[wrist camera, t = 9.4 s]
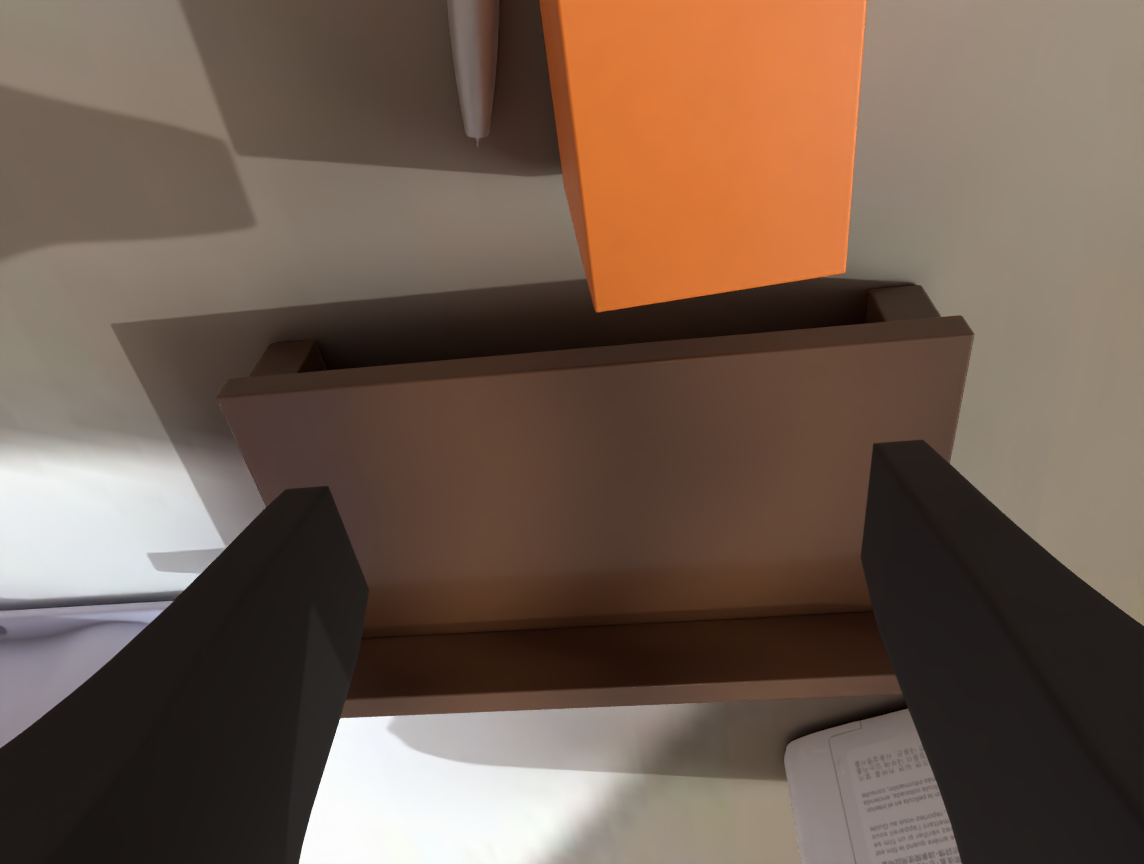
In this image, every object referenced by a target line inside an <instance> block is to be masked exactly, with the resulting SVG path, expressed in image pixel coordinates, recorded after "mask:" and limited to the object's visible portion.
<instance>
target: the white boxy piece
mask: <svg viewBox="0 0 1144 864" xmlns="http://www.w3.org/2000/svg"><path fill="white" fill-rule="evenodd" d="M784 764H785V770H786V776H787V782H788V788H789V794H790V800H791V806H792V813H793V819H794V825H795V831H796V837H797V843H798V849H799V855H800V860H801V864H962V863H961V859H960V855H959V852H958V848H957V844H956V841H955V837H954V834H953V830H952V826H951V823H950V820H949V817H948V814H947V811H946V808H945V805H944V802H943V799H942V796H941V793H940V790H939V787H938V785H937V782H936V780H935V777H934V774H933V772H932V769H931V767H930V764H929V761H928V759H927V756H926V754H925V751H924V748H923V746H922V743H921V741H920V738H919V735H918V733H917V730H916V728H915V725H914V722H913V720H912V717H911V715H910V712H909V709H904V710H900V711H896V712H893V713H889V714H885V715H881V716H877V717H873V718H869V719H865V720H861V721H855V722H851V723H848V724H844V725H841V726H837V727H833V728H830V729H826V730H823V731H819V732H816V733H813V734H810V735H807V736H804V737H801V738H799V739H796V740H794V741H792V742H790V743H789V744H788V745H787V747H786V752H785V756H784Z"/></svg>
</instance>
